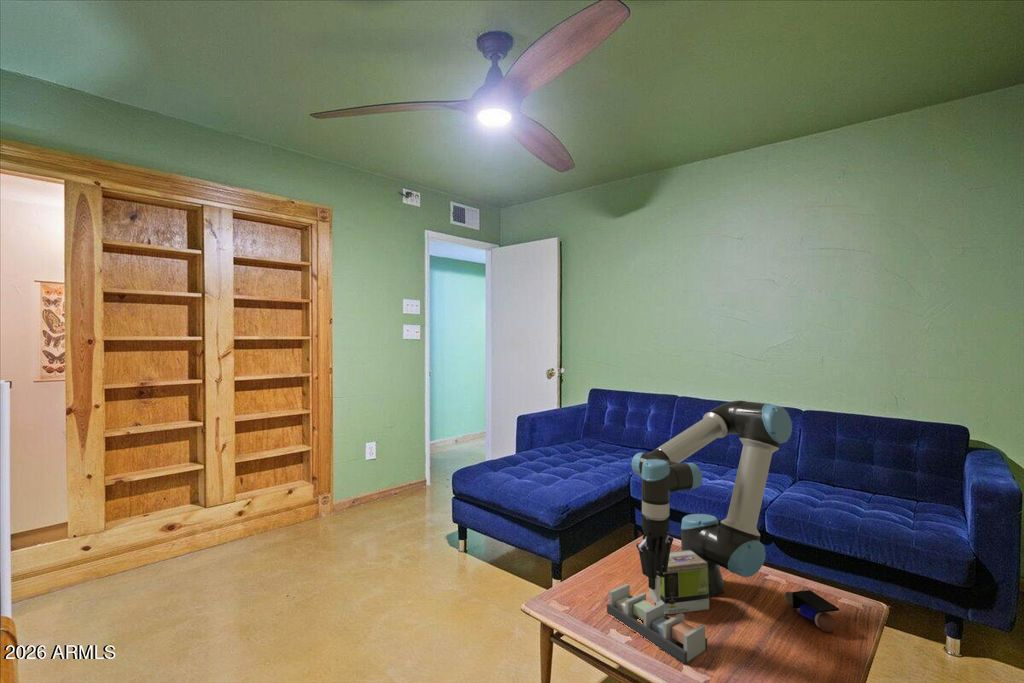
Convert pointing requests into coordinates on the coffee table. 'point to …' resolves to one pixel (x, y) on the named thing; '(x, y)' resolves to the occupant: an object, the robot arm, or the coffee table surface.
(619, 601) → the ivory key
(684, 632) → the terracotta key
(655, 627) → the slate key
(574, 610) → the coffee table surface
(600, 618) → the coffee table surface
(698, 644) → the keypad base
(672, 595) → the tea box
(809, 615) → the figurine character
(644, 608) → the sage key
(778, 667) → the coffee table surface
